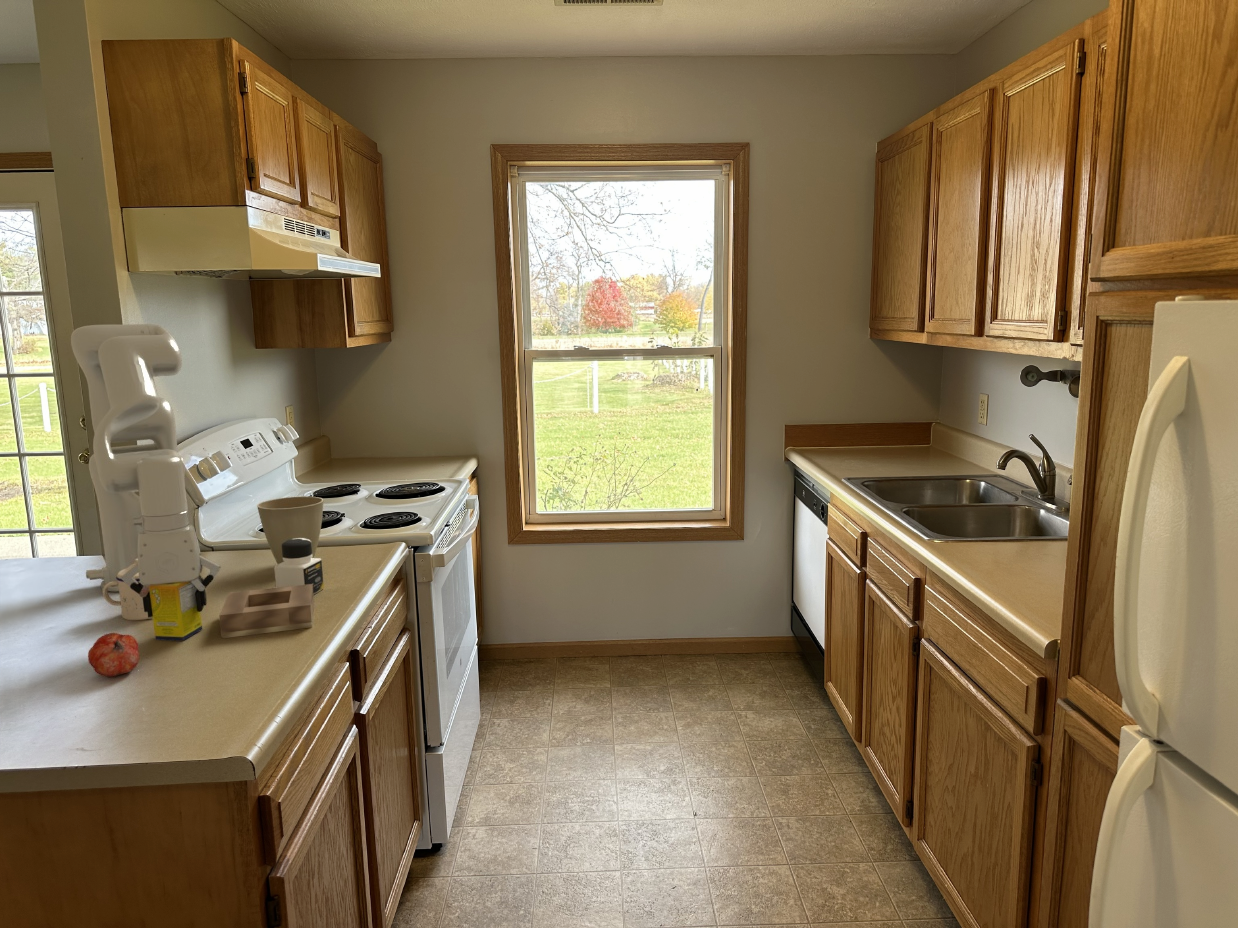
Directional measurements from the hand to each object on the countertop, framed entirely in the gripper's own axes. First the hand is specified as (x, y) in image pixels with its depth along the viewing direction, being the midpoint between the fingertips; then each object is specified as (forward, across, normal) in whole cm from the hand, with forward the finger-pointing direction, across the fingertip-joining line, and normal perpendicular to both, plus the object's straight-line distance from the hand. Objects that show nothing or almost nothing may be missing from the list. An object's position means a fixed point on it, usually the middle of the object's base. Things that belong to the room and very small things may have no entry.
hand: (176, 611), depth 158 cm
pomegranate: (+5, -7, -16) cm, 18 cm away
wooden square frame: (+5, +16, +2) cm, 17 cm away
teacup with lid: (+5, -10, +16) cm, 19 cm away
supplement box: (+5, 0, 0) cm, 5 cm away
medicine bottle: (+5, +21, +18) cm, 28 cm away
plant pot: (+5, +19, +41) cm, 46 cm away
